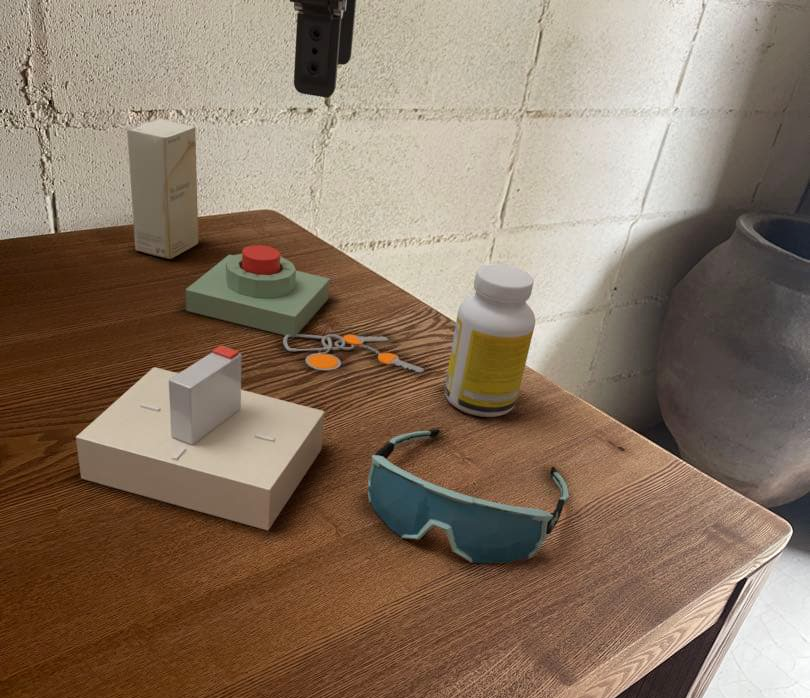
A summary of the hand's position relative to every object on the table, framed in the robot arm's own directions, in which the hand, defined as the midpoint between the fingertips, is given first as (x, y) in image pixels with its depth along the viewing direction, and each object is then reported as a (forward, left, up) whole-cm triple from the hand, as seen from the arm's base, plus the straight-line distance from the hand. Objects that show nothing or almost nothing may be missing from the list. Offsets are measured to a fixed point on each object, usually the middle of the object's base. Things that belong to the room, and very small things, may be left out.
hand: (323, 77), depth 50 cm
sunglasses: (+14, -1, -26) cm, 30 cm away
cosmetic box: (-26, +30, -26) cm, 48 cm away
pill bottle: (+12, +14, -26) cm, 32 cm away
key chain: (-1, +17, -27) cm, 32 cm away
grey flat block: (-5, -5, -23) cm, 24 cm away
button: (-12, +22, -23) cm, 34 cm away
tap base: (-5, -5, -26) cm, 27 cm away
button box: (-12, +22, -26) cm, 37 cm away
